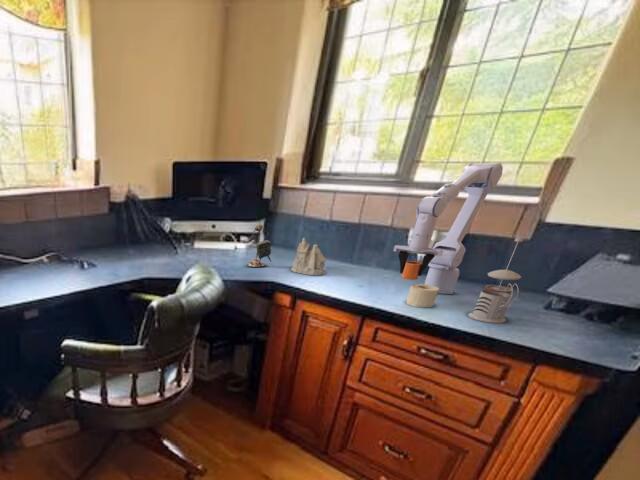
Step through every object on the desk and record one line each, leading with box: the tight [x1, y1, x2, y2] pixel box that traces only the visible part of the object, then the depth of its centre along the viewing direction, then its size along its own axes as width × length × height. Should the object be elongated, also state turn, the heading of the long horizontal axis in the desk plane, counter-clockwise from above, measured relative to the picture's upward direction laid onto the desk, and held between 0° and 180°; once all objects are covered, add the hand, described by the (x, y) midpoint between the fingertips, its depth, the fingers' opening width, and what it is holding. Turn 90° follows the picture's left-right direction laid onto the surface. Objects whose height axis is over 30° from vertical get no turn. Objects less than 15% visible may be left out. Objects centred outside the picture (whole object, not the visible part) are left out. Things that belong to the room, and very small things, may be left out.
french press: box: [467, 236, 524, 324], centre depth 129 cm, size 10×12×25 cm
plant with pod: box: [247, 222, 272, 268], centre depth 198 cm, size 8×11×20 cm
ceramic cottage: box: [290, 237, 327, 276], centre depth 190 cm, size 16×16×15 cm
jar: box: [405, 283, 439, 308], centre depth 148 cm, size 8×8×6 cm
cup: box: [400, 260, 422, 281], centre depth 150 cm, size 5×5×6 cm
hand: (410, 274), depth 151 cm, fingers closed on cup, 5 cm apart
